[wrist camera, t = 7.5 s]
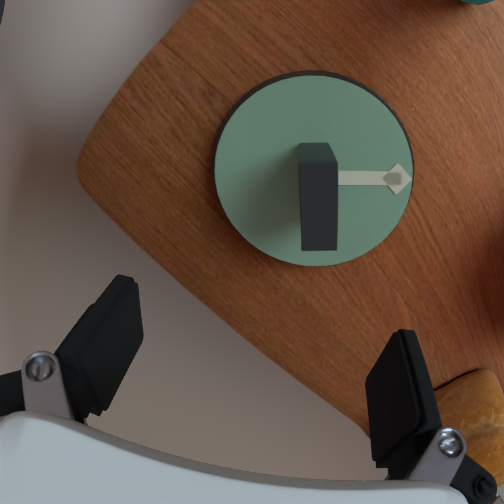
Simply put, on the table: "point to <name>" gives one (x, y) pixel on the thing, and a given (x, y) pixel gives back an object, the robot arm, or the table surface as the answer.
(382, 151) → the turntable tray
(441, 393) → the bread
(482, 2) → the beverage can
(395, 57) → the table surface
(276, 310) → the table surface
